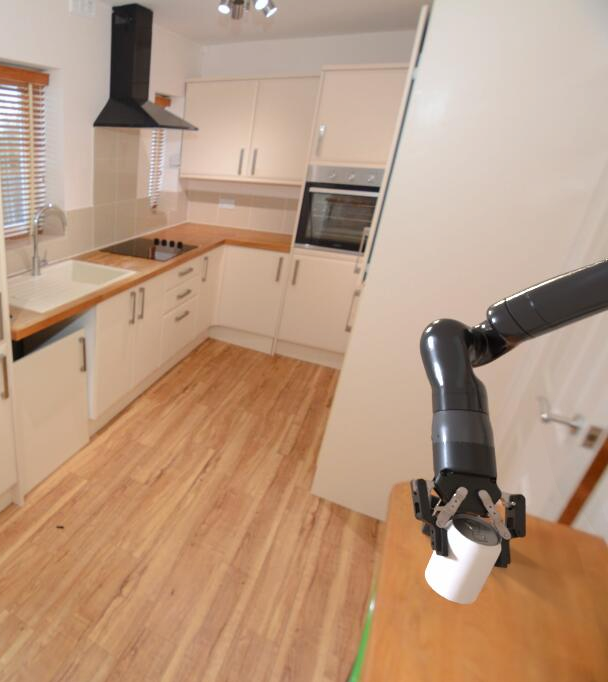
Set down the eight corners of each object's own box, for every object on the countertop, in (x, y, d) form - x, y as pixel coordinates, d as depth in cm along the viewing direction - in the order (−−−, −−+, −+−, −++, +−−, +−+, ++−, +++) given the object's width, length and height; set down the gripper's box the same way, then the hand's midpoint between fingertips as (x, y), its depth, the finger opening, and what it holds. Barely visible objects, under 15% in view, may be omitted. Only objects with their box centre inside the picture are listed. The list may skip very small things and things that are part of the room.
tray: (474, 553, 86) (481, 540, 84) (421, 532, 90) (427, 519, 89) (474, 519, 93) (480, 506, 91) (425, 501, 97) (430, 488, 96)
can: (464, 572, 71) (492, 516, 66) (484, 611, 66) (515, 552, 61) (417, 563, 73) (441, 507, 68) (433, 600, 67) (459, 542, 62)
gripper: (420, 433, 68) (425, 553, 63) (535, 448, 65) (550, 576, 60) (399, 440, 75) (402, 549, 70) (502, 454, 72) (513, 570, 67)
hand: (470, 561), depth 65 cm, fingers closed on can, 6 cm apart
